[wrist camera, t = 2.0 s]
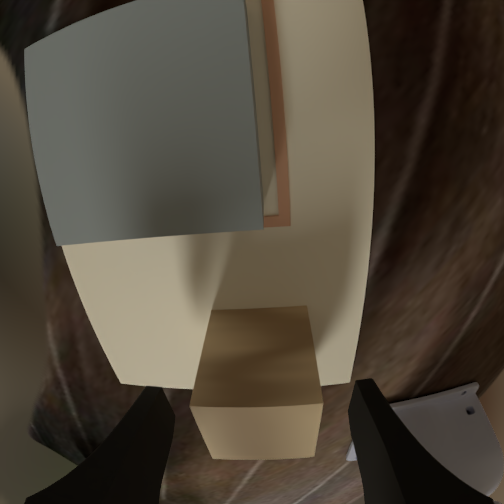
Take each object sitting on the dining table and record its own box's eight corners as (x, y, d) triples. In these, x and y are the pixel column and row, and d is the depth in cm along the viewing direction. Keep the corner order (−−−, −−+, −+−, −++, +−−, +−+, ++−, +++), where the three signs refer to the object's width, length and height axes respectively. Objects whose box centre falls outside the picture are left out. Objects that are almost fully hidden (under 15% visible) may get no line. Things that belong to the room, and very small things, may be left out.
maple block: (306, 305, 13) (323, 403, 8) (304, 369, 14) (314, 456, 10) (211, 310, 13) (189, 406, 8) (224, 372, 15) (212, 458, 10)
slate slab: (246, 7, 8) (241, -21, 5) (263, 202, 11) (263, 229, 8) (64, 53, 8) (24, 48, 6) (89, 219, 11) (56, 246, 9)
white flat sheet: (355, -8, 7) (361, -14, 7) (347, 374, 15) (349, 383, 15) (37, 51, 8) (27, 50, 8) (124, 376, 16) (120, 384, 16)
